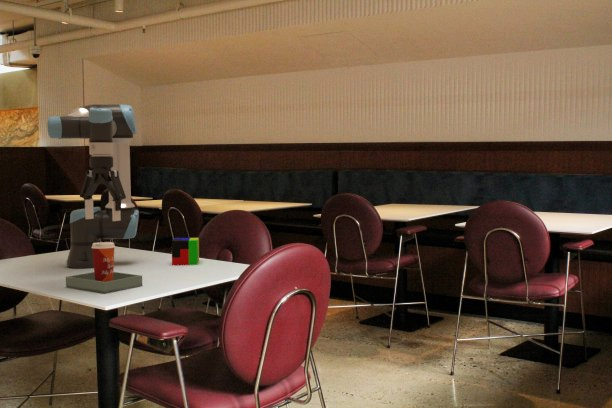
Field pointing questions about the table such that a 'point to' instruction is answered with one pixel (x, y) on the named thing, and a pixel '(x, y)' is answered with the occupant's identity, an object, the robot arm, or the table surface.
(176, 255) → the puzzle toy
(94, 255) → the paper cup
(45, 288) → the table surface
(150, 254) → the table surface
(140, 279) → the tray
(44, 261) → the table surface
